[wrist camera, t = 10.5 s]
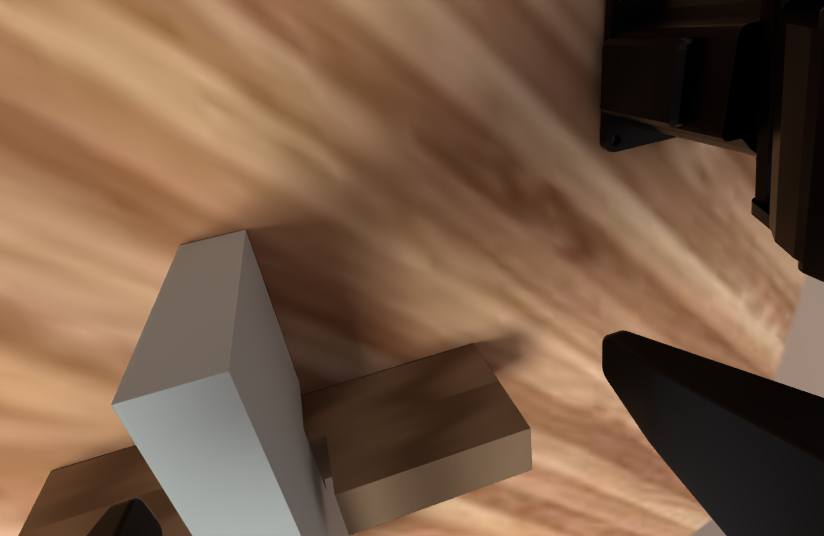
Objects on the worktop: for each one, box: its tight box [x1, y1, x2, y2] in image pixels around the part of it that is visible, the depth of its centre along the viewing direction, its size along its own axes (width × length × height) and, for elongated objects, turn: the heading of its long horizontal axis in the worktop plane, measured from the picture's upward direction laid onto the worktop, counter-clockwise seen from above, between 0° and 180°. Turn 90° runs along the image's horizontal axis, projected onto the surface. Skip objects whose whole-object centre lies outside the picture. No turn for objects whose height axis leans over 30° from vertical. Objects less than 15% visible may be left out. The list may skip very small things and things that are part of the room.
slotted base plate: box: [19, 344, 532, 536], centre depth 20 cm, size 20×2×6 cm, turn 98°
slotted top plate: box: [111, 230, 353, 536], centre depth 19 cm, size 20×2×9 cm, turn 8°
